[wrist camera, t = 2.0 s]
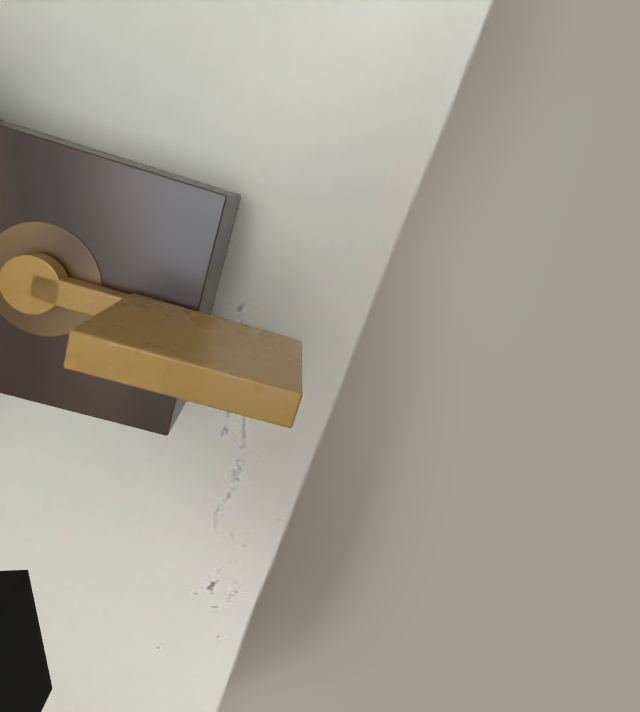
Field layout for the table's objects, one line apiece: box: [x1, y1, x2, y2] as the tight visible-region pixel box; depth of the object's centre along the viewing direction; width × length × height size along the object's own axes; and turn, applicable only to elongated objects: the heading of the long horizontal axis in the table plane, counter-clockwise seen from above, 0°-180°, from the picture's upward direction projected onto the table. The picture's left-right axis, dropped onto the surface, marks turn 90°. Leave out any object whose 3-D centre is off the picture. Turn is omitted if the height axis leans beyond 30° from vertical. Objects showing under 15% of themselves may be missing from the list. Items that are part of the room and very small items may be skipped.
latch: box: [0, 252, 302, 428], centre depth 22 cm, size 13×3×7 cm, turn 73°
